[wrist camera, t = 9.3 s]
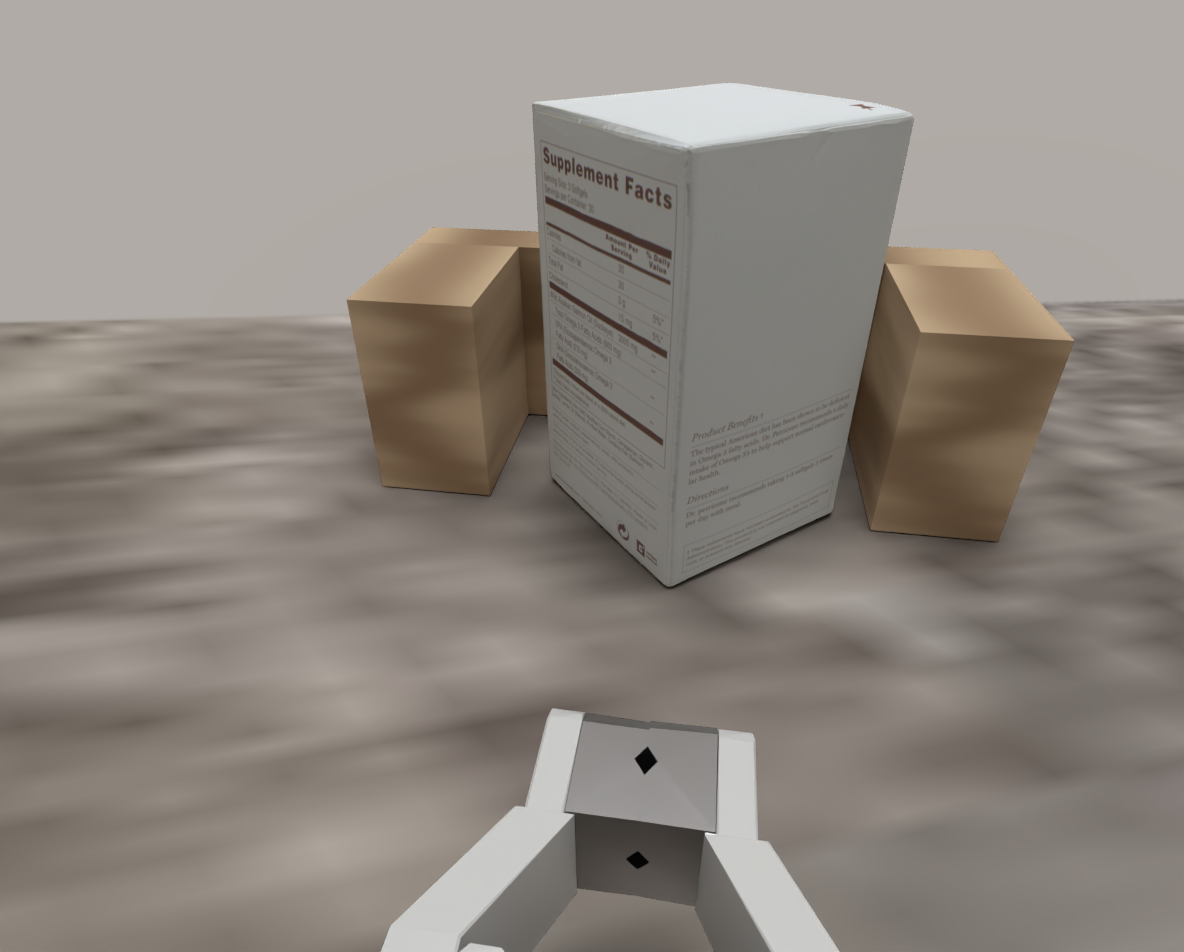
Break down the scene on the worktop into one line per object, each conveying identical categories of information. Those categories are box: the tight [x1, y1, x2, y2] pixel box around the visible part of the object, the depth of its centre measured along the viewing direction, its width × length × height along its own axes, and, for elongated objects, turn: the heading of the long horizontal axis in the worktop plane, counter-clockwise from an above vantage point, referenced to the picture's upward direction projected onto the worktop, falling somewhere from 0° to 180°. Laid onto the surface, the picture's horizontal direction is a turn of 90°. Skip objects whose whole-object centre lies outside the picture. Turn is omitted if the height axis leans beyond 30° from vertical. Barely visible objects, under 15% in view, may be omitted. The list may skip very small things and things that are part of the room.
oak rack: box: [347, 227, 1074, 542], centre depth 27 cm, size 21×8×7 cm, turn 81°
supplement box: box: [532, 83, 914, 587], centre depth 23 cm, size 7×7×13 cm
